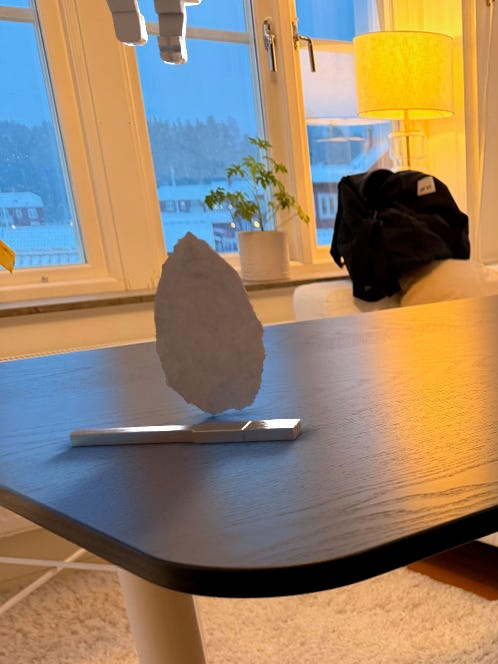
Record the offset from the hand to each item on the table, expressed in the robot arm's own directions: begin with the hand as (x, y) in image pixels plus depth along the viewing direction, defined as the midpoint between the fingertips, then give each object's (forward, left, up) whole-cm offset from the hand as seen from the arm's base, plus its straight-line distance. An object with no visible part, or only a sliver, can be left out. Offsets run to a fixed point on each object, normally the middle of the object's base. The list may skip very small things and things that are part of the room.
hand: (155, 54), depth 68 cm
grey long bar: (0, -10, -27) cm, 29 cm away
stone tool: (+1, -1, -28) cm, 28 cm away
